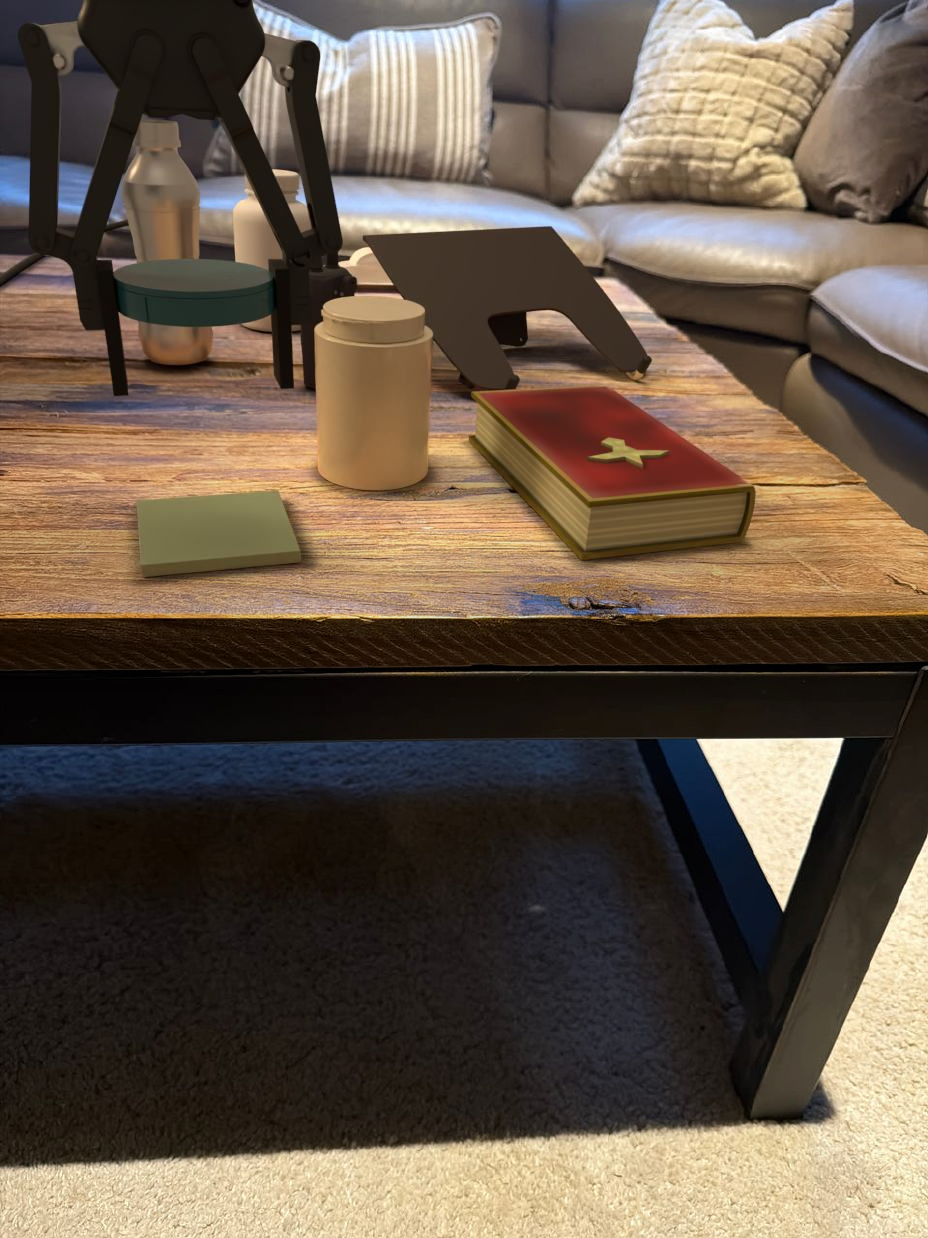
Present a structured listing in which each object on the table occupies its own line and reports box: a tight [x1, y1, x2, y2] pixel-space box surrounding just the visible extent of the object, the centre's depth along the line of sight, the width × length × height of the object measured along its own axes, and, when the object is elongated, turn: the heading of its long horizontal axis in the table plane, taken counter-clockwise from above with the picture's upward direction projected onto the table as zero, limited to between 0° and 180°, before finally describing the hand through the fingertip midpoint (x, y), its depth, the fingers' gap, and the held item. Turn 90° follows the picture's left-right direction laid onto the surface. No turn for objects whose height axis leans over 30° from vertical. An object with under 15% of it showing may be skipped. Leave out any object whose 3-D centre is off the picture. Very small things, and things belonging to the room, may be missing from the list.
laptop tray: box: [362, 225, 653, 391], centre depth 94 cm, size 23×23×9 cm
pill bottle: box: [232, 168, 311, 333], centre depth 98 cm, size 8×8×15 cm
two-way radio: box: [300, 252, 358, 390], centre depth 82 cm, size 6×4×15 cm
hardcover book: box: [467, 384, 757, 561], centre depth 68 cm, size 12×21×4 cm, turn 19°
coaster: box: [136, 489, 302, 578], centre depth 59 cm, size 9×9×1 cm
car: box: [338, 246, 394, 286], centre depth 119 cm, size 12×6×5 cm, turn 107°
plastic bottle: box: [120, 119, 214, 366], centre depth 83 cm, size 6×7×20 cm
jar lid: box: [113, 258, 275, 328], centre depth 51 cm, size 8×8×2 cm
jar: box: [314, 295, 434, 491], centre depth 66 cm, size 8×8×12 cm
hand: (204, 384), depth 54 cm, fingers closed on jar lid, 8 cm apart
